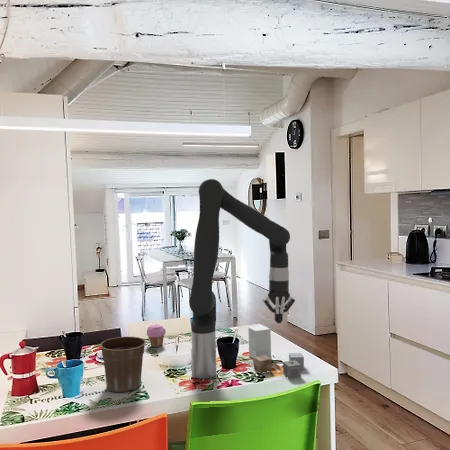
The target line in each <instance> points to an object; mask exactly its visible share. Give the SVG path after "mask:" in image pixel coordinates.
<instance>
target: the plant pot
mask: <svg viewBox="0 0 450 450" xmlns="http://www.w3.org/2000/svg"><path fill="white" fill-rule="evenodd" d="M146 344H147V340H146V339H145V338H142V337H139V336H118V337H117V336H116V337H113V338H112V337H111V338H108V339H105V340H104V341H102V342H101V343H100V344H99V346H100V348H101V354H102V355H101V356H102V357H103V364H104V373H105V383H106V389H107V390H108V391H109V392H111V393H116V394H117V393H119V394H120V393H121V394H122V393H128V392H130V391H136V390H138V388H140V386H141V385H142V373H143V372H142V371H143V370H142V369H143V359H144V354H145V346H146Z"/></svg>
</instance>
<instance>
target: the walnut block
mask: <svg viewBox="0 0 450 450" xmlns="http://www.w3.org/2000/svg"><path fill="white" fill-rule="evenodd" d="M254 369H255V370H254ZM253 370H254V371H255V372H257V371H258V372H257V373H259V372H260V373H261V374H264V373H263V372H266V373H268V372H267V371H270V372H272V357H271V358H269V357H267V356H265V355H263V356H258V357H254V359H253ZM260 373H259V374H260Z"/></svg>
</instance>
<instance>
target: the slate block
mask: <svg viewBox="0 0 450 450" xmlns="http://www.w3.org/2000/svg"><path fill="white" fill-rule="evenodd" d="M288 358H289V359H288V361H293V360H295V361H297V362H298V363H299V364H301V370H305V357H304V355H303V352H289V353H288Z"/></svg>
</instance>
